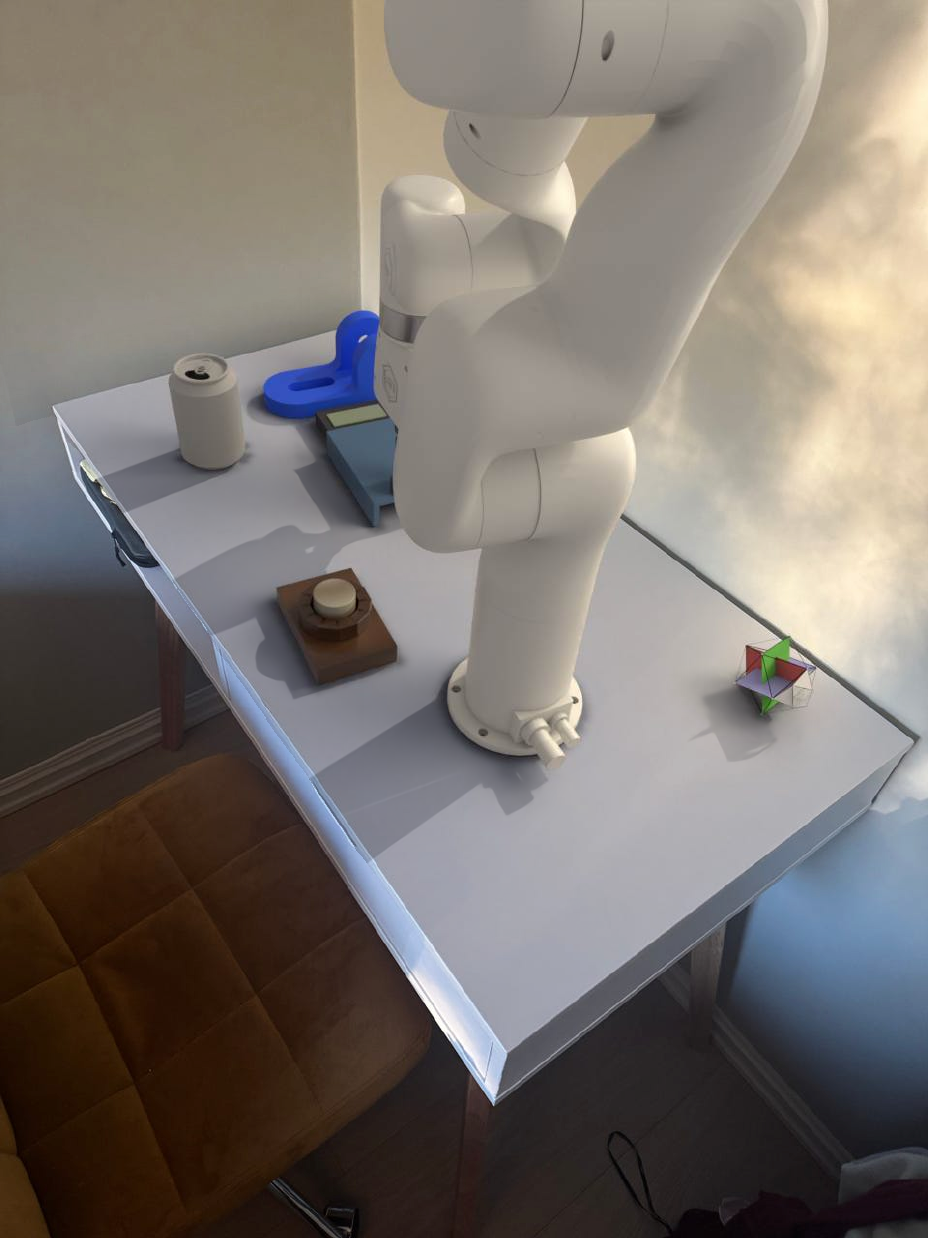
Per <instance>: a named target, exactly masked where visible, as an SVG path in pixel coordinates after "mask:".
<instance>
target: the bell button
mask: <svg viewBox="0 0 928 1238" xmlns="http://www.w3.org/2000/svg"><path fill="white" fill-rule="evenodd" d="M313 600H314V609H315V611H316V613H317V614H318V615H319V616H321V617H323V618H325V619H330V620H339V619H343V618H346V617H348V616H350V615H351V614H352V613H353V612H354V610H355V607H356V592H355V589H354V587H353V586H352V585H351V584H350V583H349V582H347V581H345V580H342V579H328V580H325V581H322V582H321V583H319V584H318V585H317V586H316V587H315V589H314V591H313Z"/></svg>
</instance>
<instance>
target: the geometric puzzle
mask: <svg viewBox="0 0 928 1238" xmlns="http://www.w3.org/2000/svg"><path fill="white" fill-rule="evenodd" d="M782 638H783V639H782ZM778 639H779V638H776V640H778ZM781 639H782V640H781V641H779V642H778V643H776V644H774V645H773V646H772V647H770V648H768V649H765V648H761V647H757V646H752V643H750V644H745V647H744V651H743V652H745V653H743V655H742V657H741V659H743V658H744V655H745V671H744V672H743V673H742V674H741V675H740V677H738V675H739V671H740V670H738V671H737V675H736V678H735V679H736V680H735V681H734V682H733V683H734V685H737V686H739V687H743V688H746V689H748V690H750V692H751V694H752V696H753V699H754V701H755V703H756V705H757V707H758V710H759V712H760V715H761V716H763V715H765V714H767V713H766V712H769V710H770V709H772V708H774V707H775V706H776V705H778V704H779V703H780V704H783V705H785V706H787V707H790V708H791V709H792V710H793V709H795V708H800V709H801V708H805V707H806V708H807V707H808V704H809V701H810V698H811V696H812V693H813V683H814V678H815V676H816V674H814V675H813V678H812V682H811V676H810V675H812V673H816V671H817V669H818V666H816V665H812V664H810V663H806V662H805V661H804V659H803V658H802V656H801V654H800V652H799V650H798V649H801V647H800V646H799V645H795V644H796V641H794V639H793V638H792V637H791V634H789V635H786V636H785V637H784V636H783V637H781ZM773 640H775V638H773V639H772V641H773ZM790 640H791V642H792V644H793V646H794V648H795V649H796V651H797V654H798V655H799V656H800V658H801V660H798V659H796V658H793V657H791V656H790V649H791V648H790V646H791V645H790V644H791V643H790ZM768 641H770V639H769V640H767V642H768ZM765 642H766V640H764V641H762V643H765ZM759 643H761V642H760V641H759V642H758V644H759ZM755 644H756V642H754V643H753V645H755ZM797 647H798V648H797ZM803 654H804V656H807V654H806V653H805V652H803ZM808 660H809V661H810V662H811V663H813V661H811V659H810V658H808ZM742 661H743V660H741V661H740V664H739V668H738V669H740V668H741V665H742V664H741V663H742ZM737 678H738V679H737ZM740 690H741V692H742V693H744V691H742V689H740ZM753 692H754V693H757V694H759V695H761V708H760V705H759V704H758V701H757V699H756V698H755V695H754V693H753ZM747 698H748V697H747ZM748 699H749V700H750V698H748ZM753 705H754V706H755V704H753ZM755 707H756V706H755ZM757 707H756V708H757ZM790 708H789V709H788V708H787V711H788V710H790ZM782 711H783V712H784V709H783V710H781V712H782ZM777 712H778V710H777V711H776V710H775V713H777ZM771 713H773V711H772V712H769V714H771Z"/></svg>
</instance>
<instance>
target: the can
mask: <svg viewBox="0 0 928 1238" xmlns="http://www.w3.org/2000/svg"><path fill="white" fill-rule="evenodd" d="M171 369H172V371H171V372H172V373H171V374H170V375H169V377H168V388H169V393H170V399H171V404H172V411H173V416H174V422H175V427H176V434H177V438H178V444H179V449H180V454H181V456H182V458H183V459H184V460H185V461H186V462H187V463H188V464H191V465H193V466H194V467H196V468H199V469H201V470H208V471H216V470H217V471H219V470H222V469H226V468H228V467H231V466H233V465H234V464H235V463H237V461H239V460H240V459H241V458H242V457H243V456H244V454H245V452H246V439H245V432H244V423H243V415H242V407H241V399H240V391H239V380H238V375H237V374H236V372H235V371H234V370H233V369H232V368H231V364H230V362H229V361H228V360H227V359H225V358H224V357H223V356H220V355H217V354H215V353H207V352H206V353H204V352H203V353H202V352H201V353H199V352H198V353H192V354H188V355H186V356H183V357H181V358H179V359H178V360H176V361H175V363H174V364H173V365H172V368H171Z"/></svg>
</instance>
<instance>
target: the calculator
mask: <svg viewBox="0 0 928 1238" xmlns="http://www.w3.org/2000/svg"><path fill="white" fill-rule="evenodd" d="M314 418H315V419H314V420H315V426H316V427H317V429H318V431H319V432H320V434H321V435H322V436H323V438H324V440H325V441H326V442H327V435H326V432H327V431H332V430H336V429H341V428H346V427H351V426H356V425H361V424H365V423H370V422H375V421H380V420H385V419H390V417H389V415H388V414H387V413H386V411H385V410H384V408H383V407H382V405H381V404H380V403H379V401H378V399H376V400H371V401H366V402H361V403H356V404H351V405H346V406H341V407H336V408H331V409H326V410H321V411H316V412H315V416H314Z"/></svg>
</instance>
